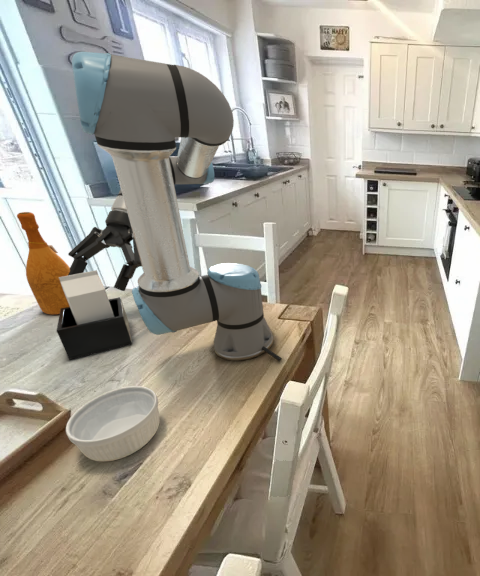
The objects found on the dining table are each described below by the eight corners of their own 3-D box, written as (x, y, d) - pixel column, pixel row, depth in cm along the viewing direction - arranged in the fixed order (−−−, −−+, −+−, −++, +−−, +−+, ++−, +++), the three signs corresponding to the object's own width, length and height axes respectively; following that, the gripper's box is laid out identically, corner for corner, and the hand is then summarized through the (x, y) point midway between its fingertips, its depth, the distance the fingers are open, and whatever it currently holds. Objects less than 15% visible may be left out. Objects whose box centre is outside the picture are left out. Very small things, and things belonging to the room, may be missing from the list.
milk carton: (121, 338, 88) (100, 274, 80) (88, 349, 83) (61, 282, 75) (114, 327, 92) (93, 266, 84) (82, 337, 87) (56, 273, 79)
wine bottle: (90, 307, 102) (55, 212, 89) (48, 319, 95) (3, 218, 82) (77, 297, 107) (42, 206, 94) (36, 309, 99) (-8, 211, 86)
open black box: (132, 344, 87) (123, 316, 84) (69, 360, 80) (56, 330, 76) (129, 323, 96) (120, 297, 92) (72, 336, 89) (60, 308, 85)
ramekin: (66, 479, 54) (50, 451, 51) (92, 420, 65) (80, 394, 62) (159, 454, 59) (149, 428, 56) (169, 403, 70) (162, 379, 67)
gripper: (176, 227, 94) (149, 296, 87) (97, 219, 96) (65, 285, 89) (159, 213, 87) (128, 286, 80) (73, 204, 89) (36, 275, 82)
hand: (94, 286), depth 84 cm, fingers open, 13 cm apart
